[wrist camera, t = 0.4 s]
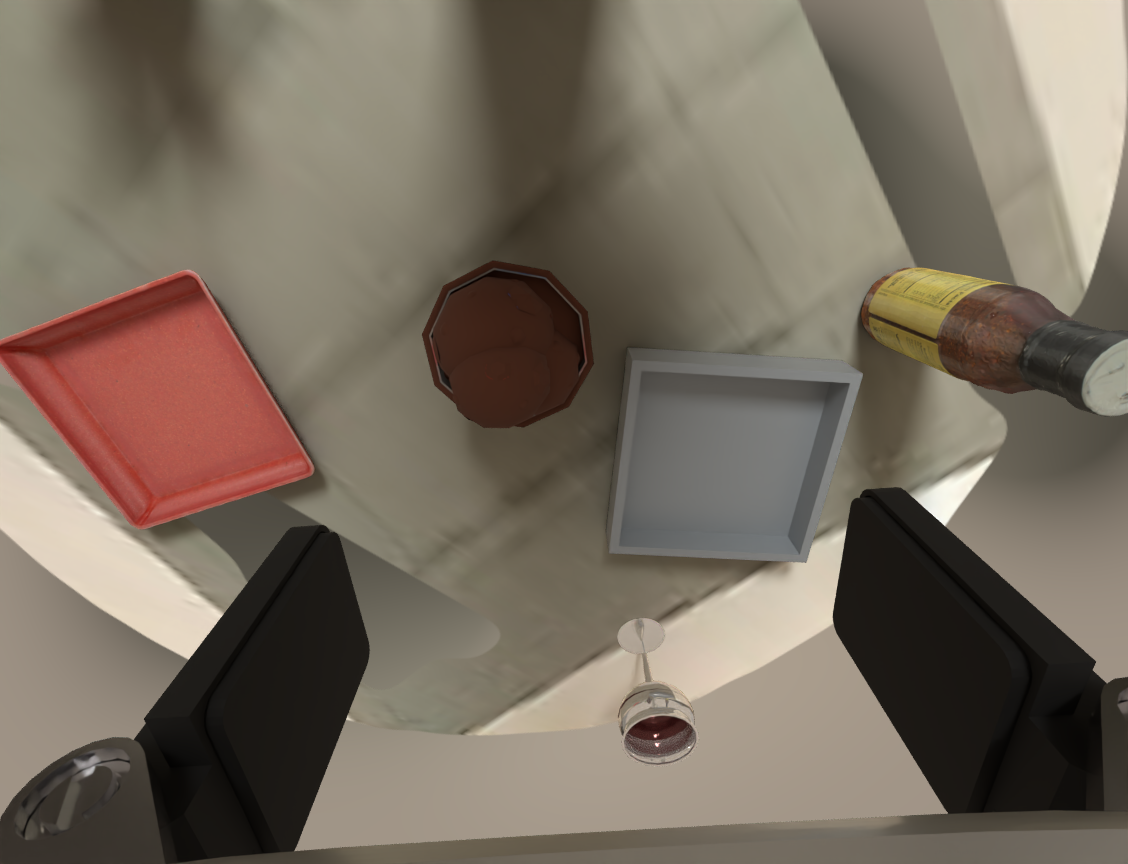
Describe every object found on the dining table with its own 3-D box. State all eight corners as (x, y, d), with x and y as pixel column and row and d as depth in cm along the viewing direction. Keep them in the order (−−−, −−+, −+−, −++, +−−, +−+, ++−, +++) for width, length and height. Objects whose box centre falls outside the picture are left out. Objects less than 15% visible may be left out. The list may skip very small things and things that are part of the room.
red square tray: (331, 457, 50) (317, 475, 47) (158, 513, 53) (134, 534, 50) (217, 259, 43) (192, 265, 40) (22, 333, 45) (-16, 344, 42)
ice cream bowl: (608, 344, 46) (631, 416, 32) (488, 400, 48) (462, 490, 34) (551, 219, 42) (548, 241, 28) (422, 286, 44) (362, 336, 30)
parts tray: (627, 347, 46) (632, 360, 43) (842, 360, 47) (863, 374, 44) (605, 530, 53) (608, 553, 50) (791, 539, 54) (806, 562, 51)
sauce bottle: (928, 338, 46) (1169, 444, 28) (851, 345, 46) (1041, 455, 28) (943, 255, 43) (1221, 314, 25) (861, 263, 43) (1079, 327, 25)
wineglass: (683, 619, 58) (712, 722, 47) (659, 665, 61) (681, 772, 50) (621, 604, 57) (636, 706, 46) (600, 652, 60) (609, 758, 49)
